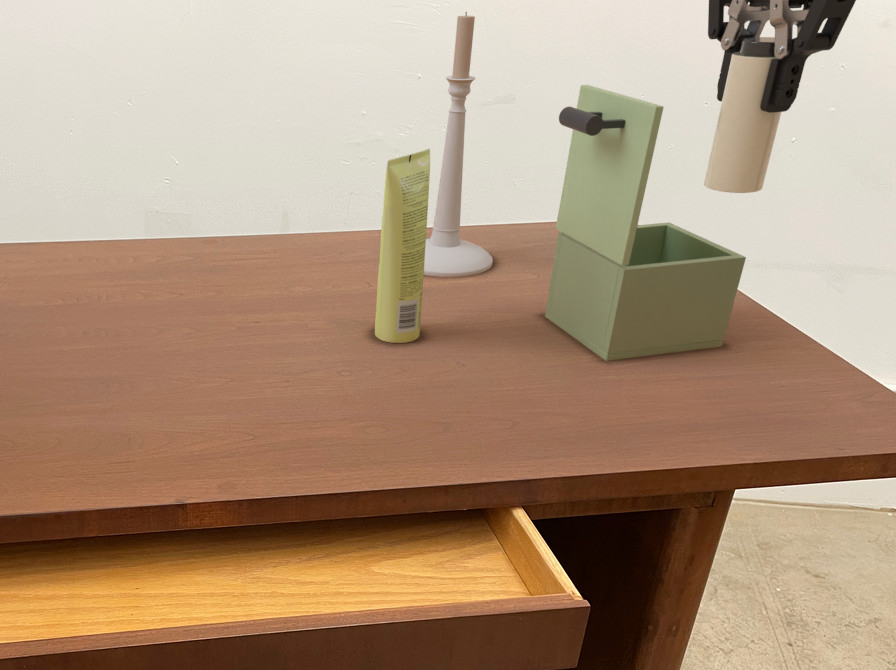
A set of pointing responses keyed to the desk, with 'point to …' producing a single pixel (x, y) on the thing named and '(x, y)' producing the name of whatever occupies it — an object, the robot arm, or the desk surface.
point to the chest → (645, 293)
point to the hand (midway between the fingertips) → (751, 104)
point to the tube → (403, 248)
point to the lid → (607, 169)
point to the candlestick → (455, 176)
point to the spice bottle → (744, 122)
